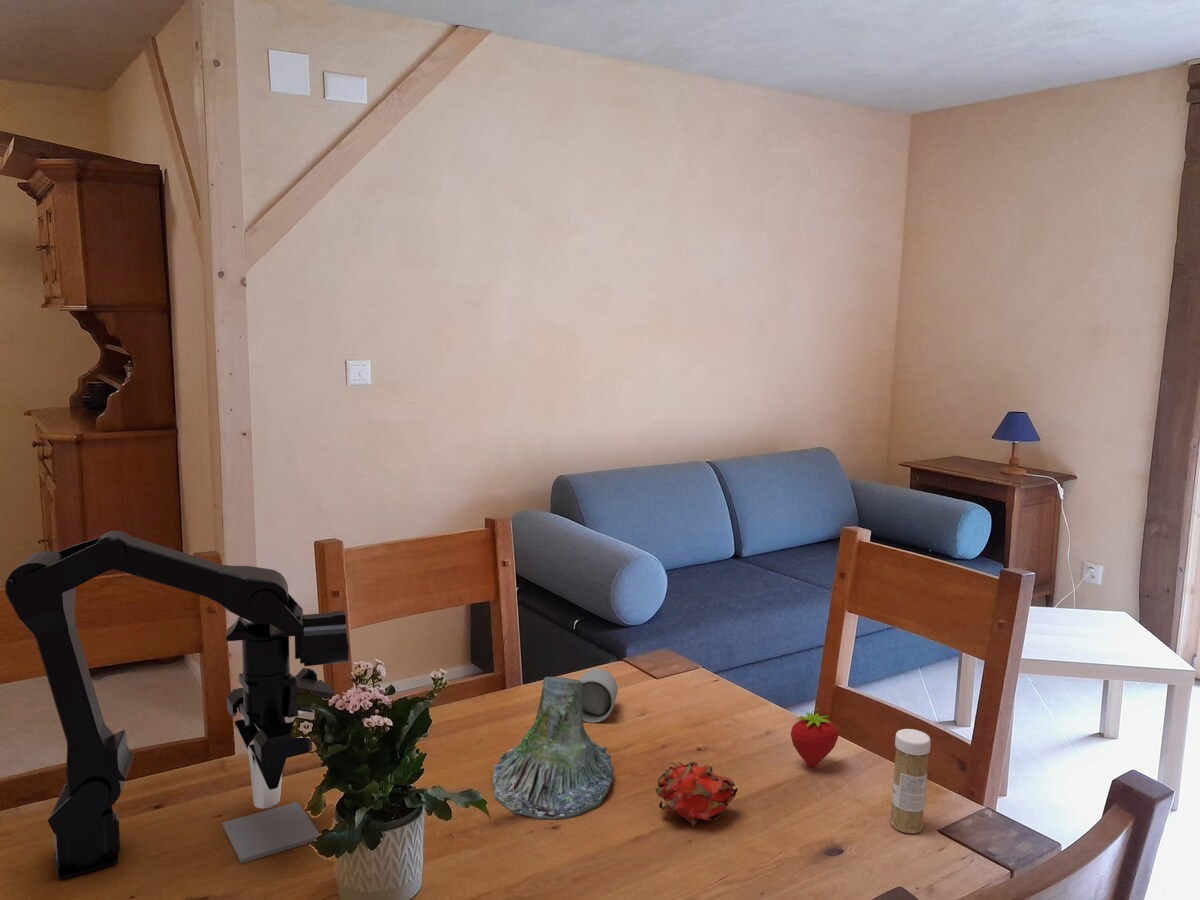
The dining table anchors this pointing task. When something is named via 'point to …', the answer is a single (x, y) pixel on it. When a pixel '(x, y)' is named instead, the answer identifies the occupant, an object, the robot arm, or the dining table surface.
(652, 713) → the dining table surface
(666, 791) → the dragon fruit
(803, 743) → the strawberry
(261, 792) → the milkshake
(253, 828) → the coaster
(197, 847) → the dining table surface
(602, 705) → the ceramic mug
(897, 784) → the spice jar
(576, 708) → the tree stump
